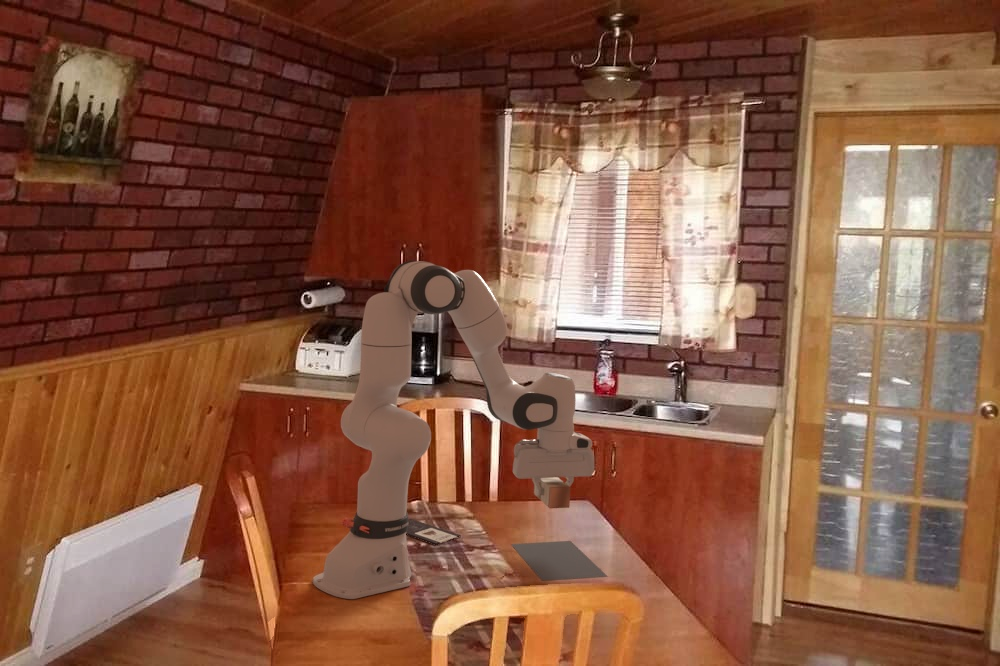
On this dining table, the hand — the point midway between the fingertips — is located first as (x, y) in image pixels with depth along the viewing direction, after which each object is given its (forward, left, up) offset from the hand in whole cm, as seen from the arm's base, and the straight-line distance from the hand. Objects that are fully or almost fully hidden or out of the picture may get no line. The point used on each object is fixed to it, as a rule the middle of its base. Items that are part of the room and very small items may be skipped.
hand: (552, 494), depth 224 cm
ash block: (+3, +6, +1) cm, 7 cm away
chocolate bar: (-13, +31, -16) cm, 37 cm away
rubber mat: (-3, -5, -15) cm, 16 cm away
